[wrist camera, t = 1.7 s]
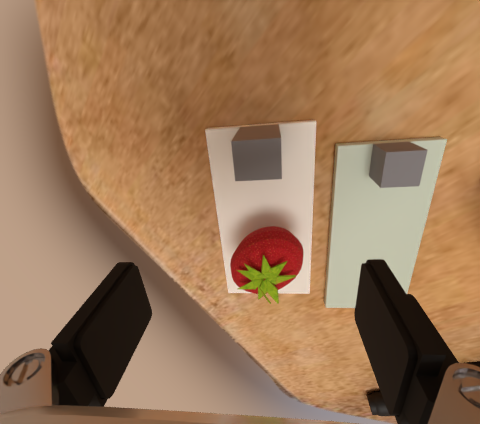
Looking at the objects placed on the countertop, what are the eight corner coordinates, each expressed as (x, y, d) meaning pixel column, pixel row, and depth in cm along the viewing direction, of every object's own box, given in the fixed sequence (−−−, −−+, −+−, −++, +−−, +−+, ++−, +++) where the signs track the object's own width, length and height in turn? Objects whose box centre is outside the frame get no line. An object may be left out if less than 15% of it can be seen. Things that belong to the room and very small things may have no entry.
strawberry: (308, 233, 30) (328, 297, 21) (255, 266, 32) (252, 336, 23) (276, 195, 28) (283, 246, 19) (223, 232, 30) (207, 293, 21)
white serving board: (207, 127, 25) (186, 144, 19) (314, 119, 24) (329, 134, 18) (229, 287, 34) (220, 333, 28) (308, 287, 33) (317, 336, 27)
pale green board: (335, 143, 25) (346, 154, 21) (440, 136, 23) (470, 147, 20) (324, 301, 34) (330, 327, 30) (399, 302, 32) (415, 330, 29)
